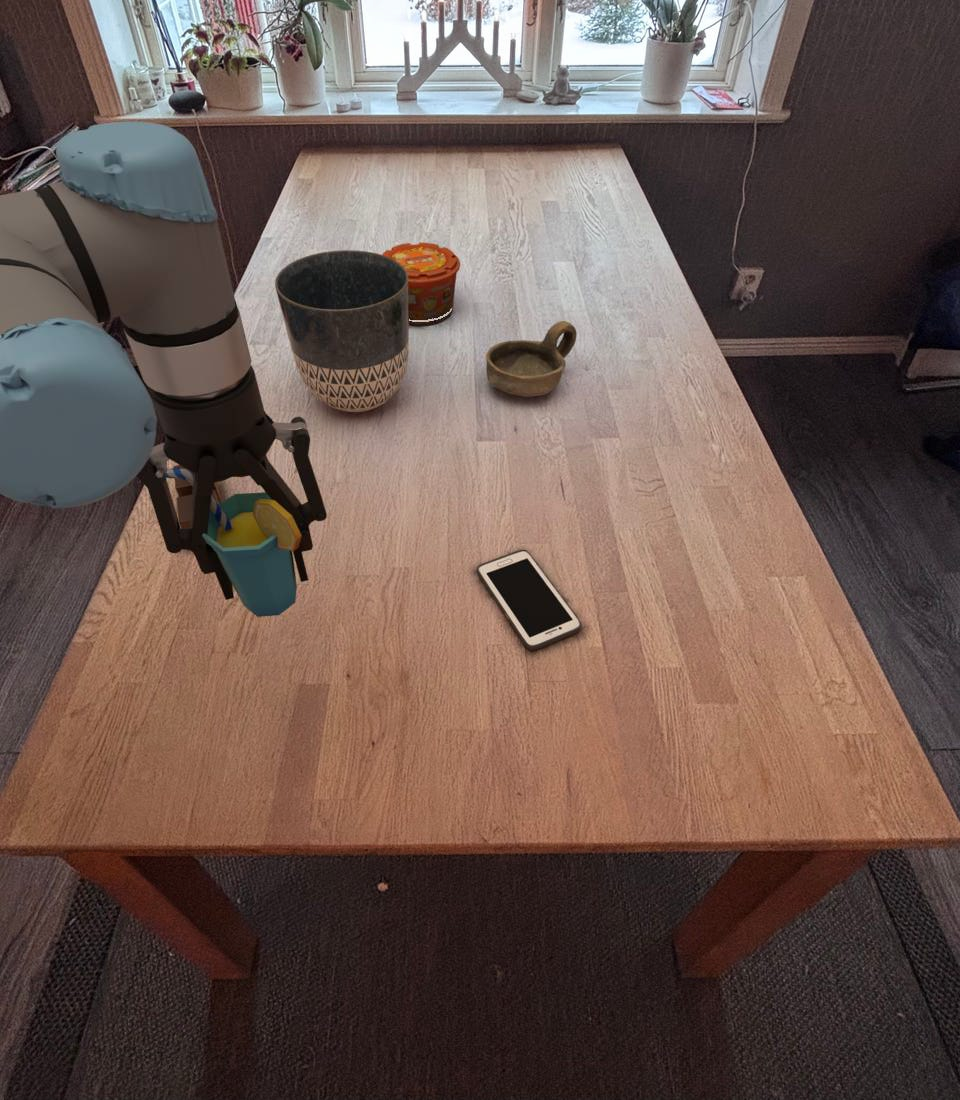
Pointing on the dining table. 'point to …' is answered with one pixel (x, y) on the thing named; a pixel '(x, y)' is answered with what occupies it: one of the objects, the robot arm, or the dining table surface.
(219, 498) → the walnut block far
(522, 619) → the cell phone
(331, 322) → the planter
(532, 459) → the dining table surface
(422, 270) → the food container
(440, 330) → the dining table surface
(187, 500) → the walnut block near
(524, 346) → the bowl
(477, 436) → the dining table surface
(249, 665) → the dining table surface
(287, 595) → the cup
